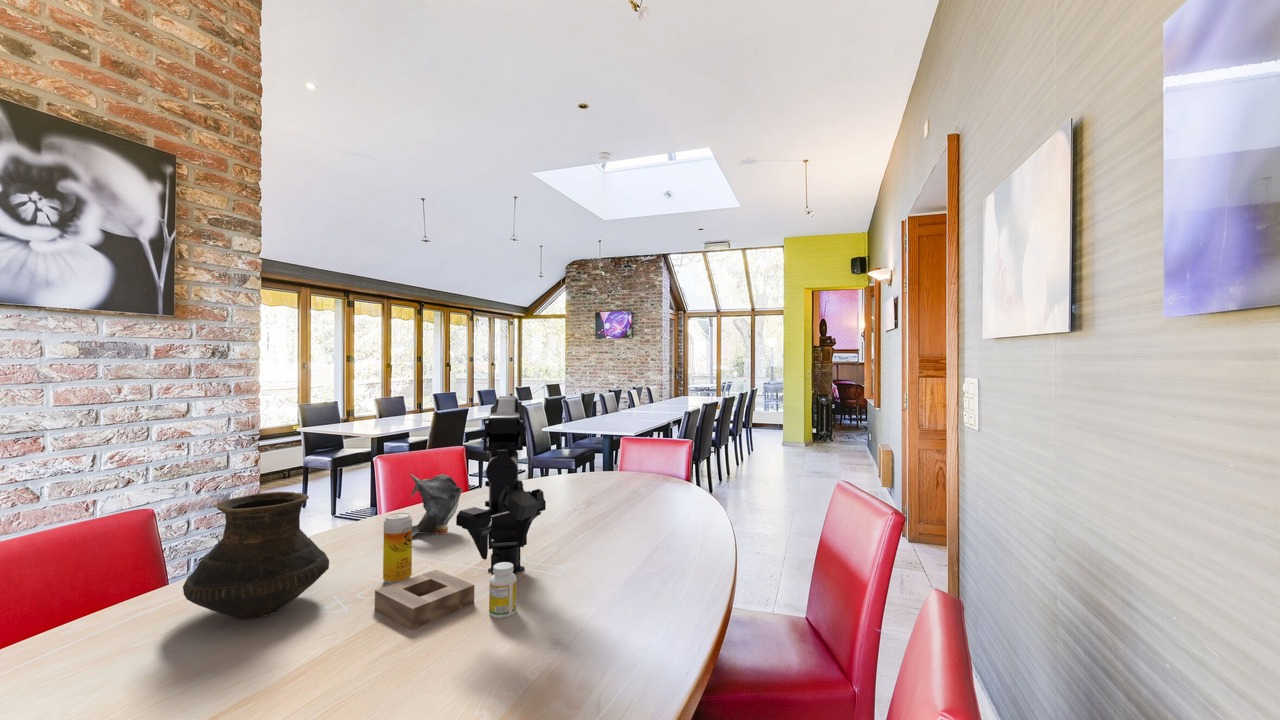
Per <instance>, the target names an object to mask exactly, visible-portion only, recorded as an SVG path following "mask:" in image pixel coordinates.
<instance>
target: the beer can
mask: <svg viewBox="0 0 1280 720" xmlns="http://www.w3.org/2000/svg"><path fill="white" fill-rule="evenodd" d="M412 526H413V518H412V516H411V514H410V513H408V512H397V513H391V514H387V515H386V516H385V518H384V520H383V544H382V545H383V546H382V547H383V550H382V551H383V554H382V555H383V558H382V561H383V562H382V569H383V570H382V580H383V581H384V582H385V583H386V584H388V585H392V584H395V583H398V582H401V581H404V580H407V579H410V578H411V576H412V575H413V574H412V570H413V569H412V568H413V567H412V563H413V562H412V559H413V557H412V555H413V537H412Z"/></svg>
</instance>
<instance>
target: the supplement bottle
mask: <svg viewBox="0 0 1280 720" xmlns="http://www.w3.org/2000/svg"><path fill="white" fill-rule="evenodd" d="M513 570H514V569H513V564H512V563H509V562H501V563H497V564H495V565H494V566H493V573H492V574H493V575H491V577H490V578H489V587H488V588H489V590H488V591H489V593H488V595H489V597H488V599H489V600H488V601H489V602H488V609H489V610H488V612H489V613H488V614H489V615H490V616H491V617H492V618H495V619H506V618H509V617H511V616H513V615H514V614H515V613H516V610H517V576H516V573H514V574H513Z"/></svg>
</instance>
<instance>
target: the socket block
mask: <svg viewBox="0 0 1280 720" xmlns="http://www.w3.org/2000/svg"><path fill="white" fill-rule="evenodd" d="M474 604H475V584H473V583H471V582H469V581H466V580H464V579H461V578H458V577H456V576H453V575H451V574H449V573H446V572H444V571H442V570H439V569H434V570H431V571H428V572H425V573H422V574H418V575H416V576H413V577H409V579H407V580H404V581H401V582H398V583H395V584H388V585H386V586H383V587H380V588H377V589H375V590H374V611H376V612H379V613H380V614H381V615H384V616H386V617H387V618H389V619H391V620H393V621H395V622H397V623H398V624H400V625H403V626H404V627H406V628H408V629H410V630H412V631H413V630H416V629H418V628H421V627H423V626H425V625H428V624H431V623H432V622H435V621H438V620H439V619H442V618H444V617H446V616H449V615H451V614H454V613H455V612H459V611H461V610H463V609H465V608H468V607H470V606H472V605H474Z"/></svg>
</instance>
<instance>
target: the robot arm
mask: <svg viewBox="0 0 1280 720" xmlns="http://www.w3.org/2000/svg"><path fill="white" fill-rule="evenodd" d="M483 431H484V433H483V446H482V447H483V449H482V451H483V452H489V461H488V462H487V463H488V464H487V466H486V469H485V476H486V478H487V480H485V484H484V486H485V487H488V488H489V489H488V490H489V491H488V492H489V493H488V500H485V501H484V506H485V507H486V508H487V509H483V508H480V507H476V506H472V507H470V508H464V509H460V510H459V511H458V512H457V515H456V517H455V518H456V519H455V521H456V526H458V527H461V528H462V529H465V530H467V532H468V534H469V536H470V537H471V538H472V540H473V543H474V545H475V547H476V548H477V551H478V553H479V555H480V558H481V559H482V560H487V559H488V554H489V553H488V552H489V550H492V552H491V554H490V567H489V568H488V569H487V571H488V572H489V573H491V574H494V573H493V566H494V565H495V564H497V563H501V562H509V563H512V564H513V569H514V570H513V574H517V573H518V572H521V571H525V566H523V565H521V548H524V547H525V546H526V545H528V541H527V539H528V537H527V536H528V532H529V531H530V528H531V525H532V523H533V521H534V520H535V519H536V518H537V517H539V516H540V515H541V514H542V512H543V511H546V509H547V508H546V504H547V502H546V500H545V495H544V491H543V490H542V489H540V488H537V489H533V490H531V491H530V490H529V491H526V490H524V483H523V480H520V479H519V452H518V451H523V450H524V446H527V425H526V407H525V406H524V405H523V404H521V403H520V402H519V397H518V396H516V395H500V396H499V397H498V396H497V397H496V402H495V403H494V404H493V405H492V406H491V407H490V414H489V415H488V420H485V421H484V430H483Z"/></svg>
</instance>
